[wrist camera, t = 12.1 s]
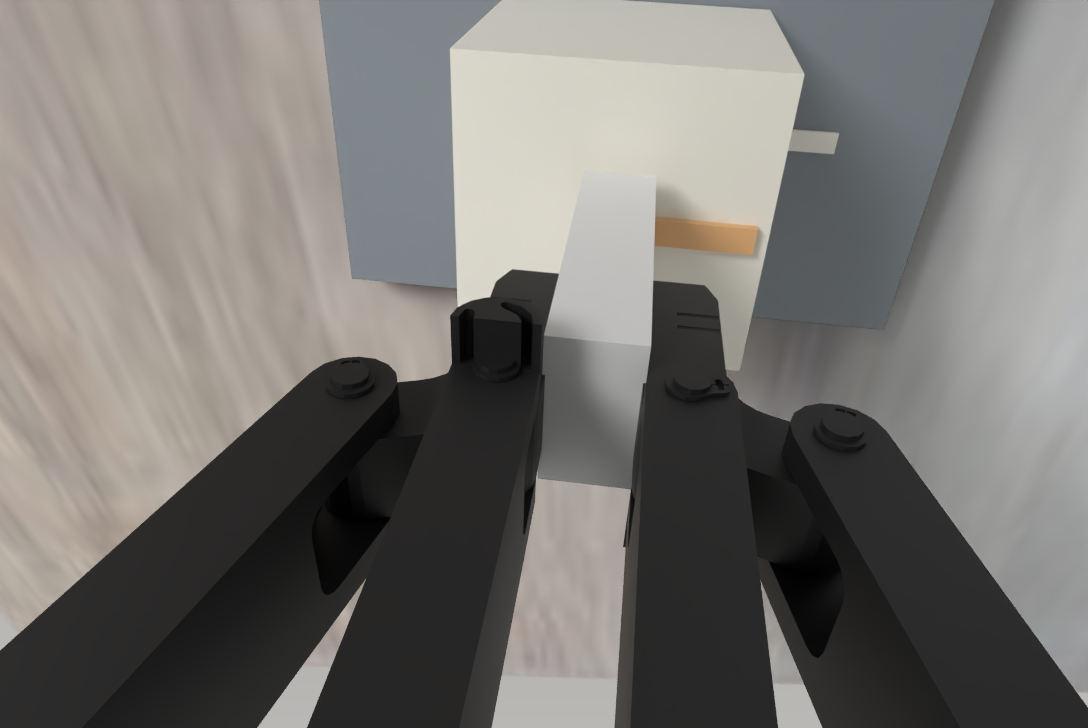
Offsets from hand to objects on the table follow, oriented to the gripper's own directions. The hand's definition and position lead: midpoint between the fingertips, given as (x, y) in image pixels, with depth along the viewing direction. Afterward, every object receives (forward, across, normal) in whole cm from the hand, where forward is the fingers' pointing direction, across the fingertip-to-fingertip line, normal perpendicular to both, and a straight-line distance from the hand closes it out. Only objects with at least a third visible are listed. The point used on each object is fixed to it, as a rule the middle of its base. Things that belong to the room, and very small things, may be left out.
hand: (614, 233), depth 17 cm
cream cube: (+7, 0, 0) cm, 7 cm away
